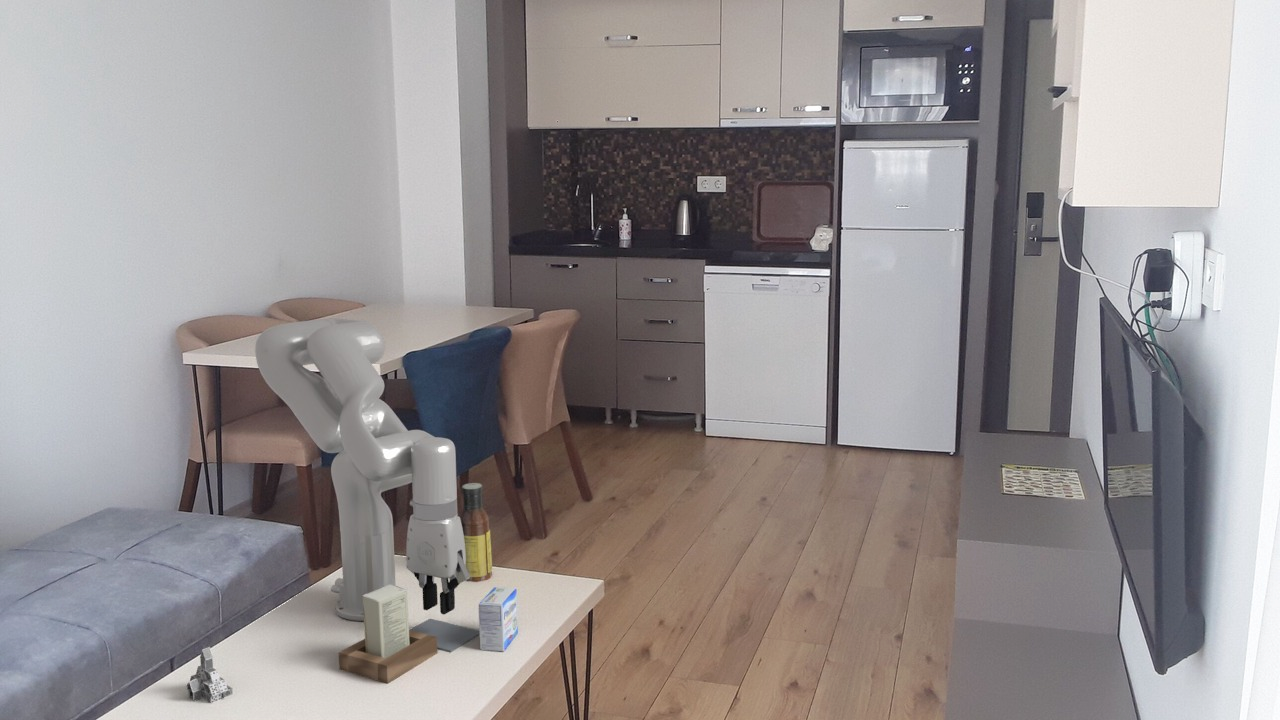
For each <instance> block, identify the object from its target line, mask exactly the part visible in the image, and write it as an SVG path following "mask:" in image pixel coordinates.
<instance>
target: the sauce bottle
mask: <svg viewBox="0 0 1280 720" xmlns="http://www.w3.org/2000/svg"><path fill="white" fill-rule="evenodd" d="M482 493H483V485H482V484H481V483H478V482H472V483H465V484H463V485H462V486H461V494H462V499H463V506H462V512H461V514H460V515H461V516H460V520H461V524H462V529H463V534H464V541H465V553H466V569H467V571H468V573H469V575H470V578H469V579H468V580H466V581H465V582H471V583H472V582H473V583H479V582H484V581H487V580H488V581H489V580H490V579H491V578H492V576H493V572H492V571H493V557H492V544H491V543H492V540H491V539H492V538H491V528H490V517H489V515H488V513H487V511H486V510H485V509H484V507H483V505H484V503H483V496H482V495H483V494H482Z"/></svg>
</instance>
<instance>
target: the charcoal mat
mask: <svg viewBox="0 0 1280 720" xmlns="http://www.w3.org/2000/svg"><path fill="white" fill-rule="evenodd" d="M409 630H411V631H415V632H419V633H423V634H427V635H431V636H435V637H437V650H438V651H439V650H440V651H444V652H447V653H453V652H454V651H456V650H457V649H459V648H460V647H462V646H464V645H465V644H467V643H469V642H470V641H471V640H473V639H475V638H477V637H478V636H480V632H479V629H475V628H470V627H467V626H463V625H458V624H454V623H452V622H451V623H450V622H446V621H443V620H439V619H435V618H428V619H426V620H425V621H422V622H421V623H419V624H417V625H415V626H413V627H412V628H409Z"/></svg>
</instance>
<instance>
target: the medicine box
mask: <svg viewBox="0 0 1280 720" xmlns="http://www.w3.org/2000/svg"><path fill="white" fill-rule="evenodd" d="M518 621H519V619H518V593H517V588H515V587H508V586H507V587H505V586H504V587H503V586H495V587H493V588H492V589H491V590H490V591H489V592H488V594H487V595H485V597H484V598H483V599H482V600H480V602H479V603H478V624H479V625H478V627H479V628H478V630H479V632H480V635H479V645H480V648H479V649H480V650H481V651H487V652H488V651H490V652H505V651H506V650H507V648H508V647H509V645H510V644H511V643H512V641H513V640H514V639H515V638H516V636H517V635H518V632H519V629H518V628H519V627H518V625H519V624H518Z"/></svg>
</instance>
